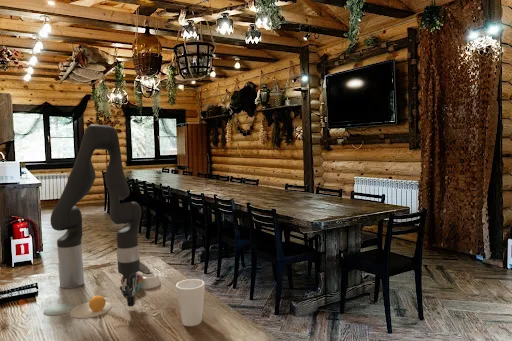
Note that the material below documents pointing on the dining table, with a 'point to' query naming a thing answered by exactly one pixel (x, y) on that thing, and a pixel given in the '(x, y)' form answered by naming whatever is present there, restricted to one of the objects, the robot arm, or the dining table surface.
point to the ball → (97, 303)
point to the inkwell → (148, 278)
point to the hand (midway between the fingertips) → (131, 305)
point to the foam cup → (191, 300)
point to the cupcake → (138, 282)
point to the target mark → (88, 311)
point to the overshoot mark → (58, 309)
